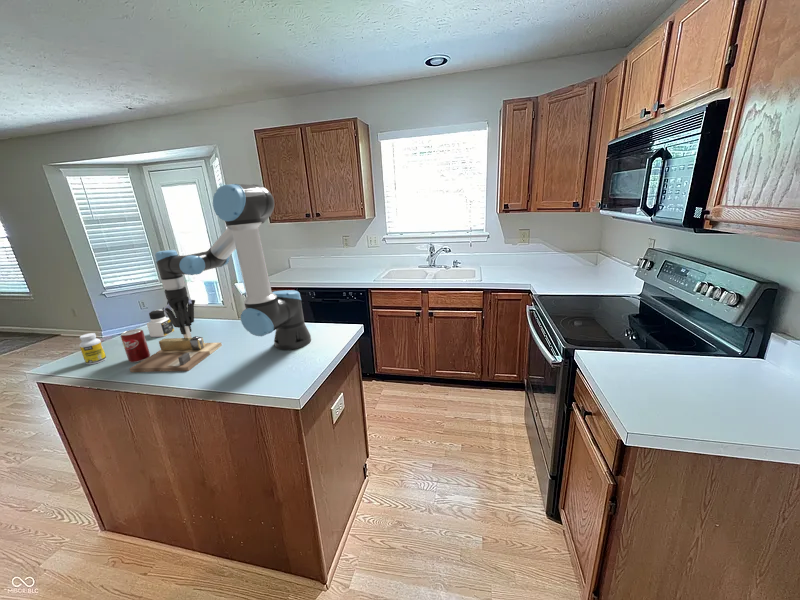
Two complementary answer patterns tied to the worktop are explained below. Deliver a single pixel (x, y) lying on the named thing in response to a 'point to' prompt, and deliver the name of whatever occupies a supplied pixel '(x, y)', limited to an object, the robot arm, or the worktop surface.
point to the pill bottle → (92, 349)
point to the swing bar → (182, 343)
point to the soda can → (135, 345)
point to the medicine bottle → (159, 324)
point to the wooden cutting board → (175, 359)
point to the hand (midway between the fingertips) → (188, 340)
